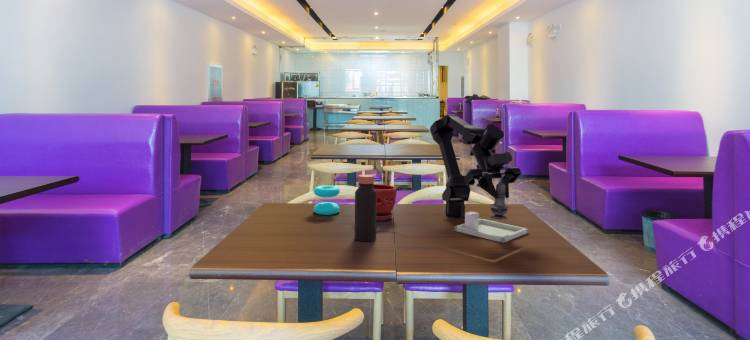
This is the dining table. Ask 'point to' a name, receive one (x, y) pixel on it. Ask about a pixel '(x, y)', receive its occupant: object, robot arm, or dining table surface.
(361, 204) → the bottle
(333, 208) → the donuts
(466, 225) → the white smooth curved piece
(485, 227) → the tray
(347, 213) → the dining table surface
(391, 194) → the plant pot
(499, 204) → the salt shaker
